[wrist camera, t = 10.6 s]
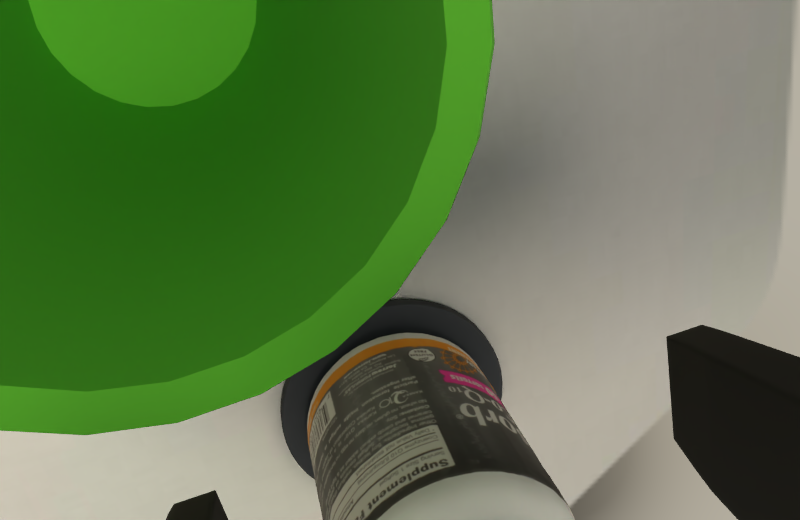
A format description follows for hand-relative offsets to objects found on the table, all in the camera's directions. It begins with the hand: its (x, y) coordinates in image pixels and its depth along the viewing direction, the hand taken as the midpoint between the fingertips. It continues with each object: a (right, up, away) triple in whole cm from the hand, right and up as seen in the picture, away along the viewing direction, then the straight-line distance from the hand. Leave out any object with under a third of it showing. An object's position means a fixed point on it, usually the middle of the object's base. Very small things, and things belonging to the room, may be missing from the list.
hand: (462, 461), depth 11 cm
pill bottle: (-1, -1, +12) cm, 12 cm away
